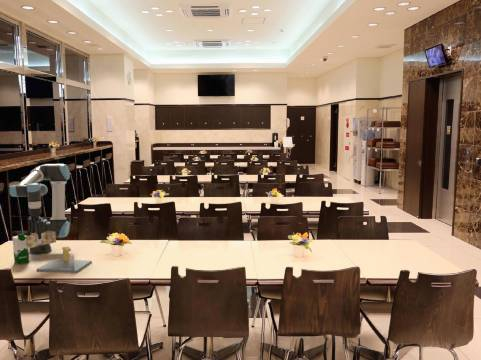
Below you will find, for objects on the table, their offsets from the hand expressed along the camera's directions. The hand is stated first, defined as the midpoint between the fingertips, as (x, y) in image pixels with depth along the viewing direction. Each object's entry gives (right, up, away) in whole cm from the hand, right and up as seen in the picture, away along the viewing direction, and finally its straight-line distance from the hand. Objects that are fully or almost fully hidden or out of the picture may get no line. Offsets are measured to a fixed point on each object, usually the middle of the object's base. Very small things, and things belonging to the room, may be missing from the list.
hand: (36, 243), depth 294 cm
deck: (+16, -16, +6) cm, 24 cm away
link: (+1, -1, +3) cm, 3 cm away
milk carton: (-18, -15, +16) cm, 28 cm away
